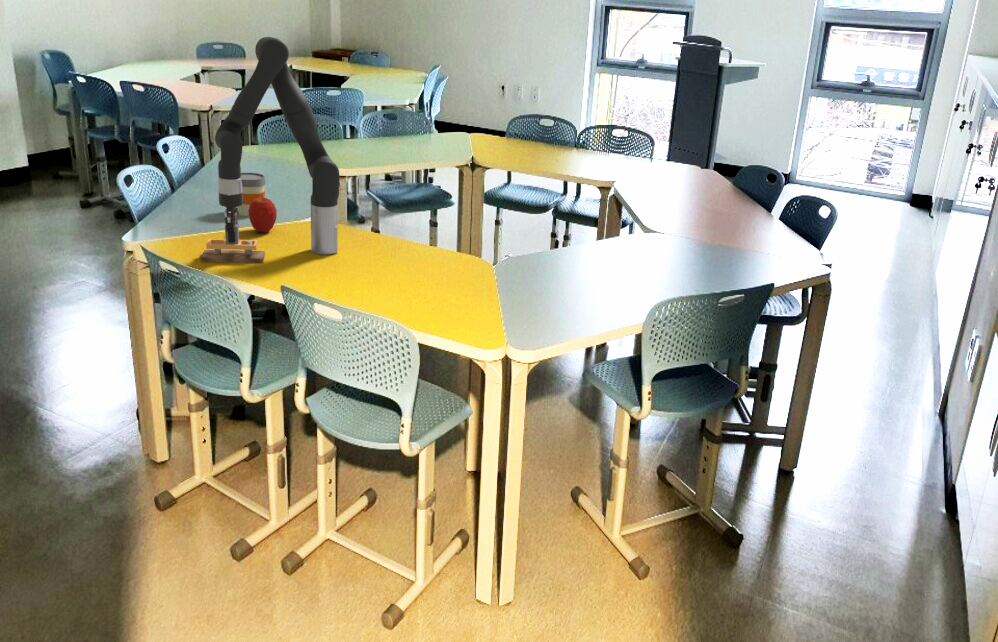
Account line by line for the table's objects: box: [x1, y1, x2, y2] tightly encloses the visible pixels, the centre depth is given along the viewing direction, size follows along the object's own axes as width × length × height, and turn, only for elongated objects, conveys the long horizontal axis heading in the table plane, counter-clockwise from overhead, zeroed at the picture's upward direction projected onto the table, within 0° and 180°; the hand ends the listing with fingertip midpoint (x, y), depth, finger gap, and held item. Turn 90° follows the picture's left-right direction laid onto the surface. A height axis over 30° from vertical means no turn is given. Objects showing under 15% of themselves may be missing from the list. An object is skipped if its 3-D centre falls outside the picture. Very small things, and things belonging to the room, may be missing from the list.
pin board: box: [200, 241, 266, 264], centre depth 287 cm, size 20×8×6 cm, turn 100°
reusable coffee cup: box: [237, 172, 267, 217], centre depth 335 cm, size 13×13×15 cm
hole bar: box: [205, 224, 259, 251], centre depth 286 cm, size 16×6×8 cm, turn 99°
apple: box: [248, 196, 277, 234], centre depth 315 cm, size 10×10×14 cm
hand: (232, 240), depth 286 cm, fingers closed on hole bar, 3 cm apart
